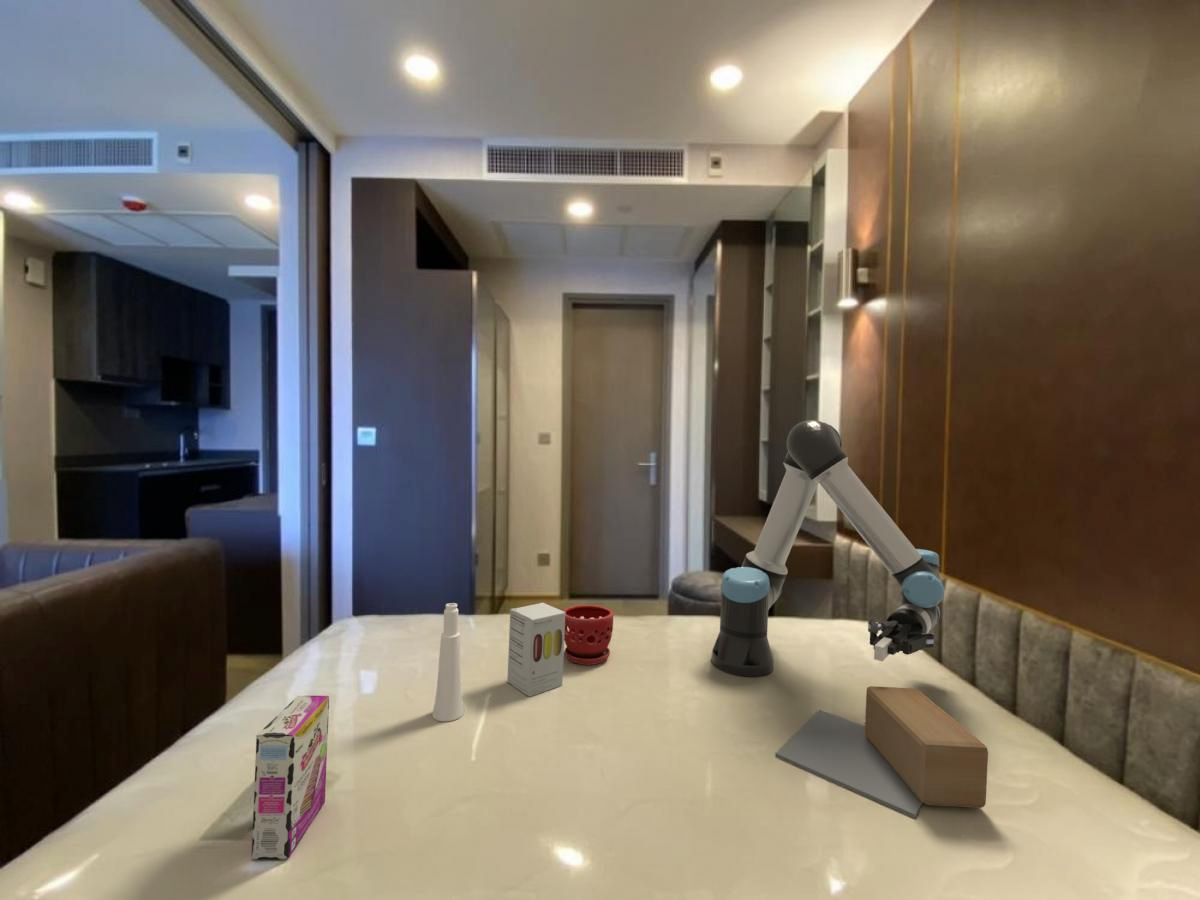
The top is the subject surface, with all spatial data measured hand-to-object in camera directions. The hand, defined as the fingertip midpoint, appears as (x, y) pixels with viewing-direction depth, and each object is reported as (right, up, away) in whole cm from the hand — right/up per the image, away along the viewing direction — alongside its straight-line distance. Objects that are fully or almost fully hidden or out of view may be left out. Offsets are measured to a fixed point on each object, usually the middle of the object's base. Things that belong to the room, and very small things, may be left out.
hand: (878, 653), depth 102 cm
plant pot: (-58, -14, +33) cm, 68 cm away
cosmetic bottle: (-84, -13, +3) cm, 86 cm away
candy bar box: (-97, -14, -29) cm, 102 cm away
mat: (-7, -16, -7) cm, 19 cm away
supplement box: (-69, -14, +17) cm, 72 cm away
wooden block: (+2, -11, -1) cm, 11 cm away
